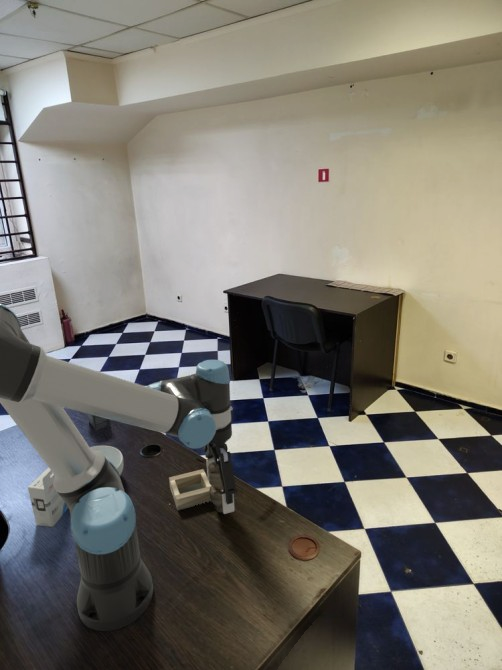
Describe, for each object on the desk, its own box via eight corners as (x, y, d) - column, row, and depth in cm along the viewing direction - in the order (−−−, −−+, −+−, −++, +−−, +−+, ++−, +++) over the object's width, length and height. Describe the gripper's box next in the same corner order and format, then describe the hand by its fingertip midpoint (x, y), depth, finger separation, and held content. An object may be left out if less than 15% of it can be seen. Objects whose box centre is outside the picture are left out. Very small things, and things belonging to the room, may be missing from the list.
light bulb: (235, 509, 118) (233, 461, 113) (223, 522, 113) (221, 472, 108) (218, 502, 121) (215, 454, 116) (206, 514, 116) (202, 465, 111)
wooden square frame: (213, 500, 121) (213, 489, 120) (177, 510, 118) (176, 499, 117) (204, 479, 130) (203, 468, 129) (169, 487, 127) (168, 477, 126)
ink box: (55, 502, 122) (46, 456, 117) (71, 505, 121) (63, 458, 116) (35, 525, 114) (24, 476, 109) (52, 527, 113) (42, 478, 108)
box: (88, 421, 163) (84, 395, 160) (103, 417, 166) (100, 391, 163) (95, 430, 157) (90, 403, 154) (111, 425, 160) (107, 399, 157)
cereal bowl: (56, 481, 131) (52, 460, 129) (110, 458, 141) (107, 439, 139) (78, 510, 119) (74, 488, 116) (135, 483, 129) (133, 462, 127)
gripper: (248, 445, 98) (251, 522, 105) (215, 397, 120) (219, 464, 127) (216, 453, 96) (221, 532, 103) (188, 403, 118) (194, 470, 125)
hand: (220, 494), depth 115 cm, fingers open, 13 cm apart
